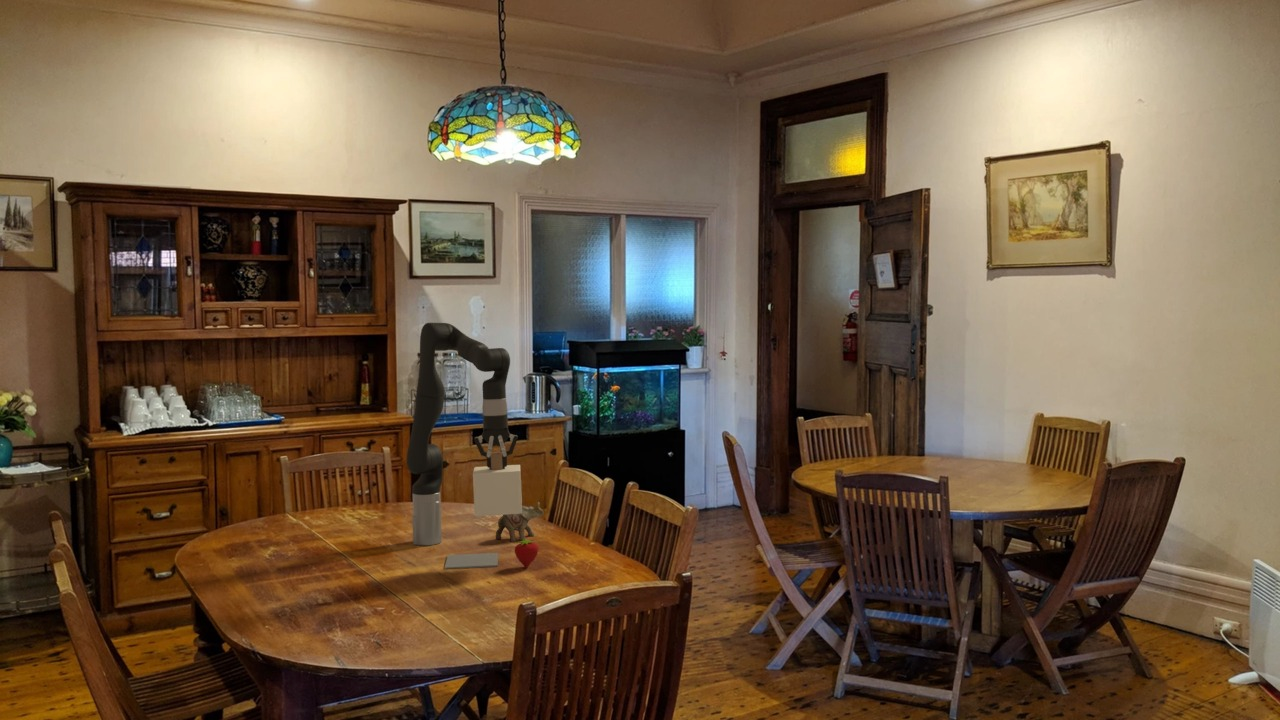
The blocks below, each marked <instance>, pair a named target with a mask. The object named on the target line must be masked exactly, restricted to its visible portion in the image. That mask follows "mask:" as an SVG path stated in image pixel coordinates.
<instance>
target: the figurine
mask: <svg viewBox="0 0 1280 720" xmlns="http://www.w3.org/2000/svg"><path fill="white" fill-rule="evenodd" d="M540 505H541V504H540V502H539V501H537V503H536V508H535V507H533V506H531V505H529V506H526V505H525V504H524V505H522V514H506V515H501V516H500V518H499V519H498V521H497V527H498V529H496V531H495V539H496V540H502V534H503V531H504V530H505V529H506V530H507V531H508V533H509V541H510V542H511V543H515V542H520V541H523V540H524V538H525V539H526V536H525V531H526V532H527V536H529V537H535V533H534V531H533V529H532V527H531V526H530V525H529V521H530V520H531V519H534V518H541V517H543V516H544V510H543V509H542V508H541V507H540ZM515 531H516V532H518V539H517V537H516V532H515Z"/></svg>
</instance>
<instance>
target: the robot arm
mask: <svg viewBox="0 0 1280 720" xmlns="http://www.w3.org/2000/svg"><path fill="white" fill-rule="evenodd" d="M419 338H420V339H419V368H418V376H417V377H418V379H417V386H416V392H415V401H414V414H413V421H412V428H411V434H410V439H409V443H408V448H407V453H406V466H407V469H408V470H409V472H410V473H411V474H413V475H420V477H419V478H418V479H417V480H416V481H415V482H414V483H413V484H412V485H411V486H412V487H411V489H412V518H411V521H412V522H411V523H412V545H413V546H416V545H417V546H433V545H438V544H440V543H442V537H443V536H442V510H441V509H442V508H441V507H442V506H441V505H442V504H441V503H442V502H441V500H442V499H441V486H442V485H443V484H442V483H443V475H444V474H443V470H444V469H443V468H444V458H443V453H442V450H441V449H440V447H439V446H438V445H436V444H434V443H429V442H430V441H429V440H430V436H431V434H432V430H433V429H434V427H435V426H436V423H437V422H438V420H439V418H440V417H441V414H442V413H443V409H444V404H445V394H446V393H445V391H446V390H445V386H444V384H443V381H442V379H441V377H440V375H439V374H438V371H437V369H436V364H435V361H436V360H435V355H436V351H437V352H438V351H440V352H441V351H442V352H443V351H444V352H445V351H456V352H457V354H458V355H459V357H460V358H462V359H463V360H465V361H467V362H469V363H471V364H472V365H473V366H474V367H475V368H476V369H477V370H478V371H480V372H485V373H487V372H490V373H491V372H493V375H492V377H490V378H489V379H485V380H483V382H482V387H481V388H482V405H481V406H482V426H483V428H482V430H483V432H482V433H481V435H479V436H475V437H474V439H473V440H474V442H475V445H476V447H477V449H478V452H479V454H480V455H481V457H486V466H487V467H488V468H489V469H491V452H492V450H493V447H500V450H501V452H502V466H503V469H505V467H507V465H508V456H509V455H512V454H513V452H514V451H515V447H516V444H517V441H518V435H517V434H512V433H510V431H509V419H508V417H509V416H508V411H509V410H508V403H507V391H506V387H507V386H506V383H507V379H508V374H509V371H510V366H511V356H510V354H509V352H508V350H507V349H505V348H503V347H496V348H495V347H494V348H493V347H492V348H489V347H488V346H487V345H486V344H484V343H483V342H481V341H478V340H476V339H474V338H472V337H469V336H468V335H466V334H464V332H462V331H461V330H459V329H458V328H457V327H456V326H454V325H453V324H451V323H448V322H426V323H424V324H423V326H422V327H421V332H420V336H419ZM509 438H510V439H509ZM508 439H509V440H510V442H511V443H510V445H509V446H510V447H509V449H508V450H507V448H506V444H505V443H506V441H507V440H508ZM483 440H484V441H485V442H486V443H487V450H486V451H485V450H484V447H483V445H482V443H483Z"/></svg>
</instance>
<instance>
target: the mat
mask: <svg viewBox="0 0 1280 720" xmlns="http://www.w3.org/2000/svg"><path fill="white" fill-rule="evenodd" d="M498 562H499V552H485V553H482V552H481V553H466V554H465V553H463V554H447V557H446V560H445V564H444V570H451V569H453V570H454V569H473V568H474V569H475V568H476V569H477V568H494V567H495V568H496V567H498Z"/></svg>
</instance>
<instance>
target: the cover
mask: <svg viewBox="0 0 1280 720" xmlns="http://www.w3.org/2000/svg"><path fill="white" fill-rule="evenodd" d="M502 456H503V454H502V451H495V452H494V451H493V452H492V451H491V469H489V468H488V467H487V465H486V466H474V468H473V472H472V482H473V483H472V485H473V487H472V488H473V507H474V508H473V509H474V513H473V514H474V517H486V516H489V517H490V516H500V515H501V516H503V515H506V514H522V504H523V499H522V497H523V496H522V475H521V474H522V473H521V464H509V465H508V464H507V467H505V469H503V466H502Z"/></svg>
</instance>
